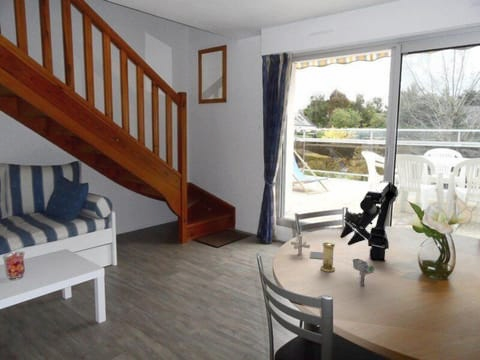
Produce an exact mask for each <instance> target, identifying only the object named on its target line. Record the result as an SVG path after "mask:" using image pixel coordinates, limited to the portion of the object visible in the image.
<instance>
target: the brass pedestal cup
mask: <svg viewBox="0 0 480 360" xmlns="http://www.w3.org/2000/svg"><path fill="white" fill-rule="evenodd" d="M322 248H323V252H322V253H323V259H322V265H321V266H320V270H321V271H323V272H324V273H325V272H326V273H334V272H335V270H336V267H335V266H333V265H334V248H335V243H332V242H323V243H322Z"/></svg>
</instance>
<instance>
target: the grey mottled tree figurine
mask: <svg viewBox="0 0 480 360" xmlns="http://www.w3.org/2000/svg"><path fill="white" fill-rule="evenodd" d="M352 266H353V269H354V270H356V271H359V276H360V280H359V286H360V287H363V286H365V280H366V279H365V277H366V276H368V275H371V274H374V271H375V267H374V266H373V265H368V262H367V261H364V260H362V259H360V258H353V259H352Z"/></svg>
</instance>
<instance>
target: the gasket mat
mask: <svg viewBox="0 0 480 360" xmlns="http://www.w3.org/2000/svg"><path fill="white" fill-rule="evenodd" d="M314 258H315V260H316V259H317V260H323V252H321V251H310V255H309V259H314Z"/></svg>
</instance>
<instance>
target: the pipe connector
mask: <svg viewBox="0 0 480 360" xmlns="http://www.w3.org/2000/svg"><path fill="white" fill-rule="evenodd" d="M290 245H292V246H293V248H294V250H298V251H297V252H298V253H297V254H298V256H301V255H302V254H303V248H305V249H310V248H311V245H310V244H308V243H307V241H306V240H303V234H298V240H297V241H293V240H291V241H290Z"/></svg>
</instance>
